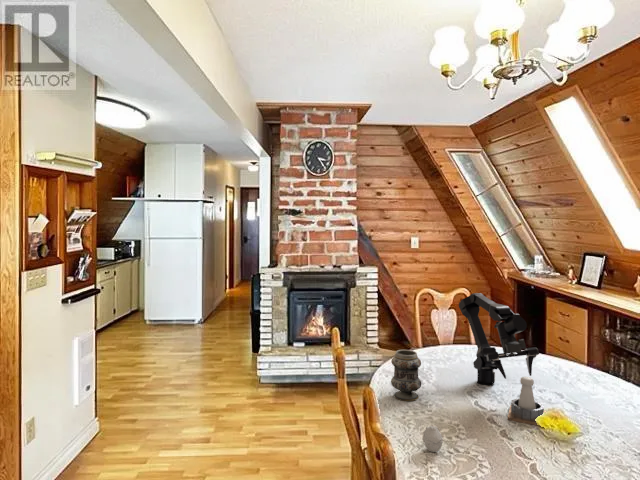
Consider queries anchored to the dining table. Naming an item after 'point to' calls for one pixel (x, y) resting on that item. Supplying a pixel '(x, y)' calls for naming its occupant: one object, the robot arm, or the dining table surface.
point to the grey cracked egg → (432, 439)
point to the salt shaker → (526, 394)
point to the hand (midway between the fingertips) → (518, 377)
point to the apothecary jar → (406, 375)
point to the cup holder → (524, 413)
